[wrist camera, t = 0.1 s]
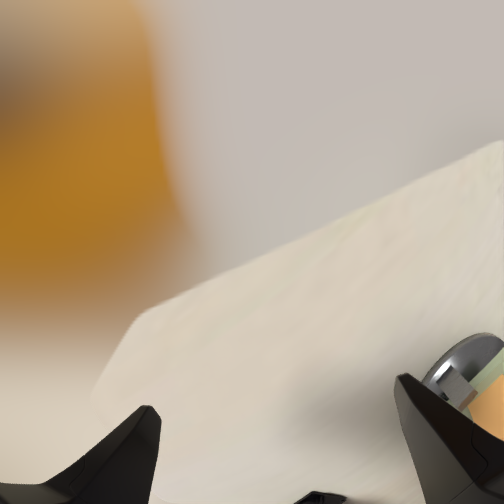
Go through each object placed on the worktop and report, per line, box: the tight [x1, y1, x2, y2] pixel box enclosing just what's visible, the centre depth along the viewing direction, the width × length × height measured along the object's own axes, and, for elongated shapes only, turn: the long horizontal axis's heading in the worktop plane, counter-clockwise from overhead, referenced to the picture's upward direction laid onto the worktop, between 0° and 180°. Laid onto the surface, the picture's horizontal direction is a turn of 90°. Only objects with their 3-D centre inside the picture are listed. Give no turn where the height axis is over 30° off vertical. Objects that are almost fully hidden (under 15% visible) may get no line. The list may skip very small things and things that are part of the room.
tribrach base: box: [421, 333, 504, 412], centre depth 19 cm, size 15×15×6 cm
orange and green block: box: [447, 347, 504, 441], centre depth 14 cm, size 14×10×11 cm
